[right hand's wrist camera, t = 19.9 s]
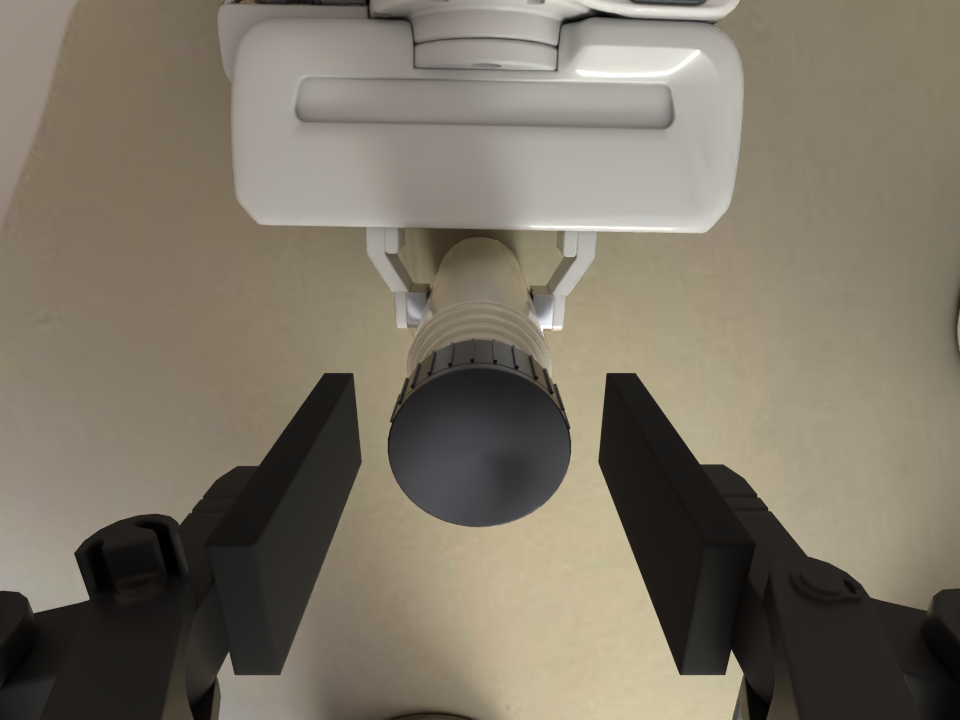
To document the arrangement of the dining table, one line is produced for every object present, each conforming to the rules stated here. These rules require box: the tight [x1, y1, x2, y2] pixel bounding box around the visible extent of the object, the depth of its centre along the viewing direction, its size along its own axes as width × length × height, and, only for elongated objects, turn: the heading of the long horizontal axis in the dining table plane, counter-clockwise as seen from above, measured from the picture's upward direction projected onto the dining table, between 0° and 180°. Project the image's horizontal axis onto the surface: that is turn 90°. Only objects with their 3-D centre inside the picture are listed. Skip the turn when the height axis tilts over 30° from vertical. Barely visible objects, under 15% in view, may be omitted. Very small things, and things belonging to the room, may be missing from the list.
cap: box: [388, 339, 571, 527], centre depth 14 cm, size 4×4×2 cm
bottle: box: [407, 237, 552, 378], centre depth 22 cm, size 5×5×18 cm
